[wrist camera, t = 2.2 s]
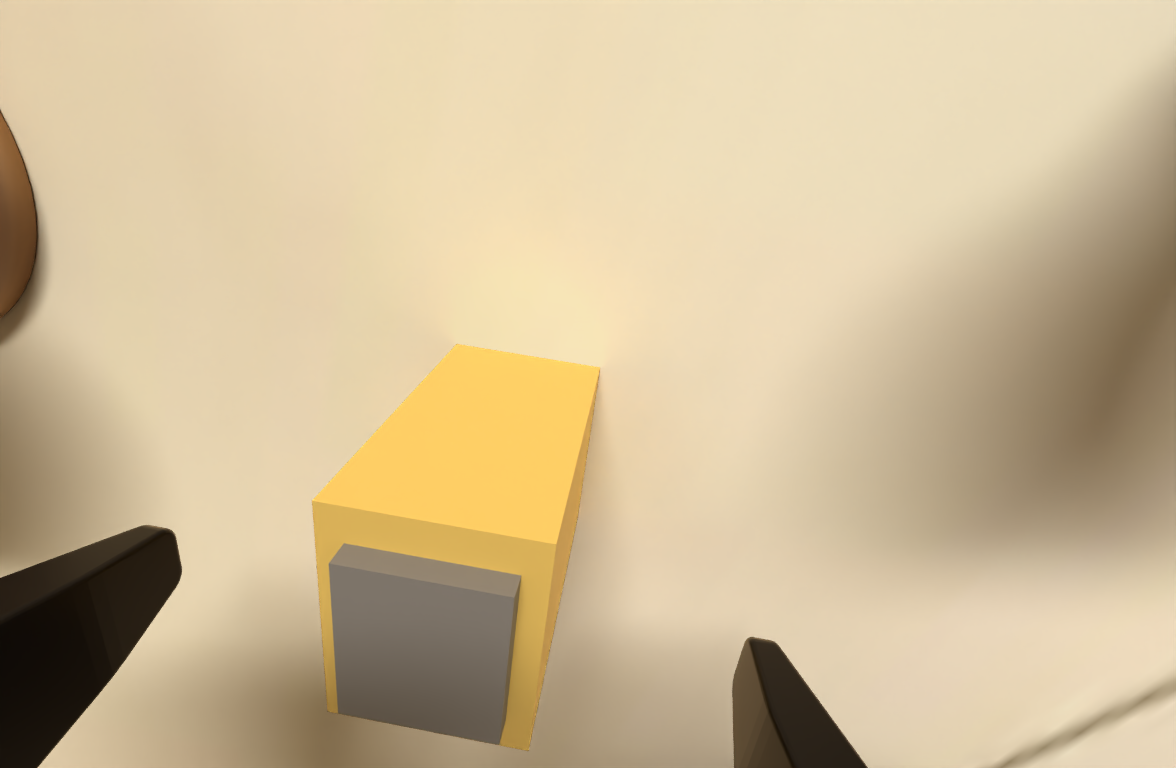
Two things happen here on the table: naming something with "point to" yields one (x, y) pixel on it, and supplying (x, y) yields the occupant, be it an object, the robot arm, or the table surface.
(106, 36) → the table surface
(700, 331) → the table surface
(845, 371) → the table surface
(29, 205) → the bobbin
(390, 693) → the tab block
